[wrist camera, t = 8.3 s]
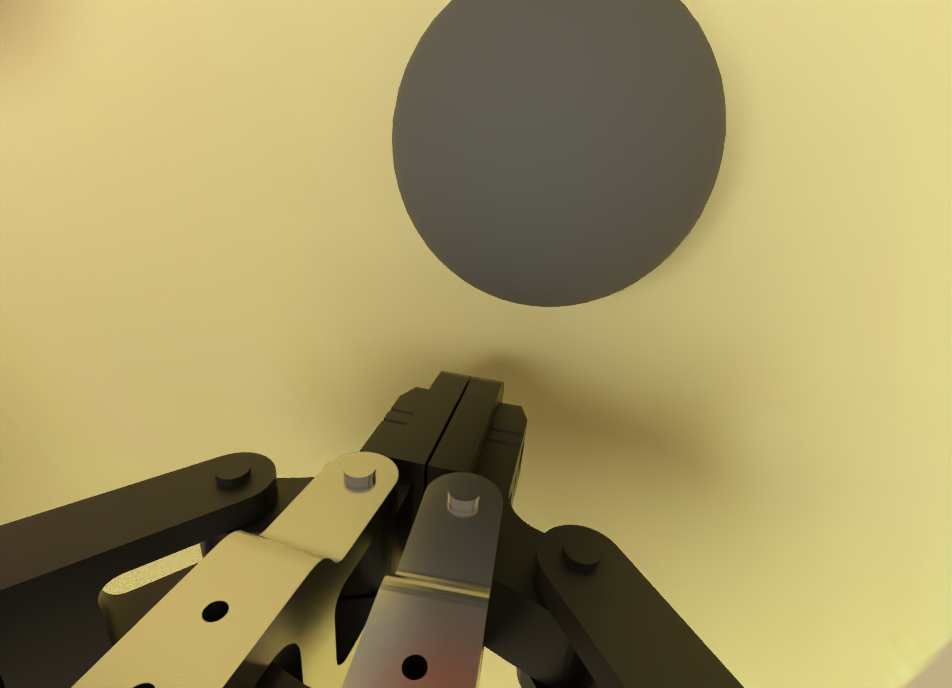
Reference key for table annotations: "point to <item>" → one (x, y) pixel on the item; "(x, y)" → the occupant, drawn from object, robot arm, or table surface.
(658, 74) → the dark gray ball
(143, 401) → the table surface
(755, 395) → the table surface
